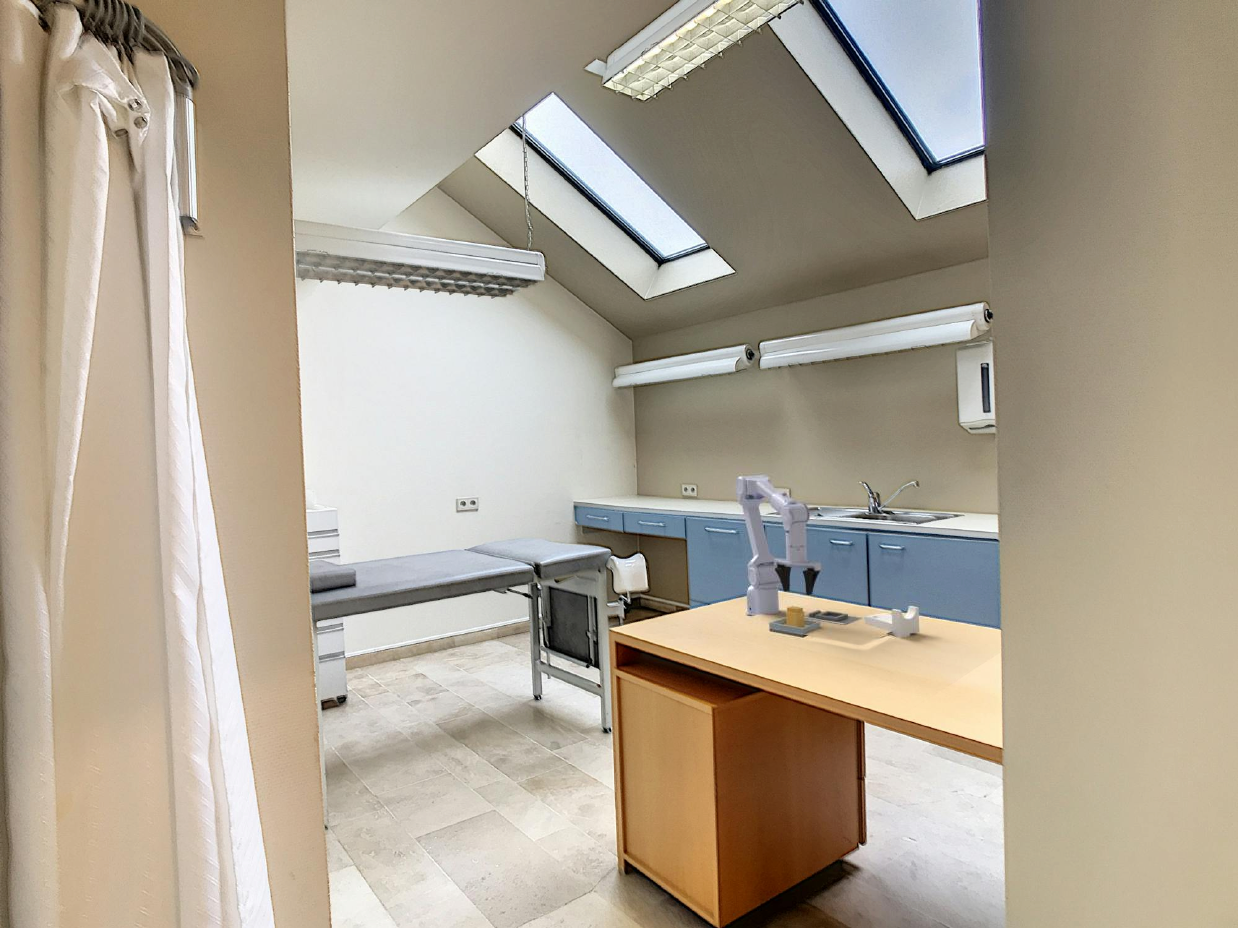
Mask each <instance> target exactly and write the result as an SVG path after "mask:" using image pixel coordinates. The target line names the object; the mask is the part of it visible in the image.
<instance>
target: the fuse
mask: <svg viewBox="0 0 1238 928" xmlns="http://www.w3.org/2000/svg"><path fill="white" fill-rule="evenodd" d="M803 609H804V608H803V607H800V606H795V605H792V606H788V607H786V612H785V617H786V622H785V623H786V624H785V625H788V626H794V627H799V628H804V627H806V625H805V623H804V619H805V618H804V617H805V611H803Z"/></svg>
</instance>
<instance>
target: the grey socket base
mask: <svg viewBox="0 0 1238 928" xmlns="http://www.w3.org/2000/svg"><path fill="white" fill-rule="evenodd" d="M804 619H805V620H811V621H817V622H823V623H830V624H835V625H841V626H847V625H848V624H851V623H854V622H856V621H858V620H861V619H862V617H857V616H851V615H849V613H843V612H836V611H831V610H825V611H821V610H819V609H817V610H815V611H812V612H809V613H808V615H806V616H804Z"/></svg>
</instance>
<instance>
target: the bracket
mask: <svg viewBox="0 0 1238 928" xmlns="http://www.w3.org/2000/svg"><path fill="white" fill-rule="evenodd" d="M919 608H920V607H917V606H914V605H908V609H907V612H906V613H905V614H904V615H903V612H902V610H901V609H897V608H896V609H895V608H892V609H891V614H889V613H886V612H881V613H875V614H869V615H865V616H864V624H865V625H869V626H872V627H876V628H880V629H883V630H886V631H889V632H888V633H886V635H888V636H891V635H892V636H891V637H894V638H898V639H903V638H906V637H907V636H908V637H910V635H911V634H914V633H915V634H917V633H920V612H919V611H920V609H919ZM902 637H903V638H902ZM908 637H907V638H908Z"/></svg>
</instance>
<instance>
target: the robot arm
mask: <svg viewBox="0 0 1238 928" xmlns="http://www.w3.org/2000/svg"><path fill="white" fill-rule="evenodd" d="M734 489H735V494H736V498H737V502H738V505H740V506H741V508H742V512H743V516H744V520H745V526H746V530H747V533H748V539H749V542H750V546H751V551H752V555H753V558H752V559H751V560H750V561H749V562H748V564H747V578H748V582H749V583H750V586H749V587H748V588H747V591H746V608H747V609H746V610H747V611H746V613H745V614H746V615H747V616H751V617H755V616H758V615H760V614H761V615H774V614H775V615H776V614H778V613H779V612H780V602H779V601H780V600H779V588H780V587H782V590H783V592H785V593H786V592H790V590H791V589H790V588H791V571H792V568H797V569H805V570H802V574H803V577H804V583H805V595H806V596H810V595H813V593H814V586H815V584H816V580H817V578H818V576H819V575H820V572H821V570H822V563H821V562H816V561H811V560H808V556H807V555H808V552H807V525H806V524H807V523H808V522H809V520H810V517H811V516H810V515H811V513H810V509H809V506H808V505H807V504H806V503H805V502H797V501H795V499H793V498H792V497H790V496H789V495H788V494H787V492H786V491H778V490H777V489H776V488H775V487H774V486H773V485H772V483H771V478H770V477H769V476H768V475H766V474H761V475H750V476H749V475H746V476H742V475H740V476H738V477H737V479H736V481H735V486H734ZM766 499H767V500H769V501H770V507H771V508H772V509H774V510H775V511H776V512H777V513H778V514H779V515H780V519H781V521H782V525H783V530H784V531H785V550H786V551H785V552H786V556H785V557H786V558H782V557H781V558H779V557H778V558H777V557H776V556H774V555H772V553H770V548H769V545H768V541H767V536H766V532H765V528H764V523H763V520H762V515H761V511H760V508H759V507H760V505H761V504H763V503H764V502H765V501H766Z"/></svg>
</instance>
